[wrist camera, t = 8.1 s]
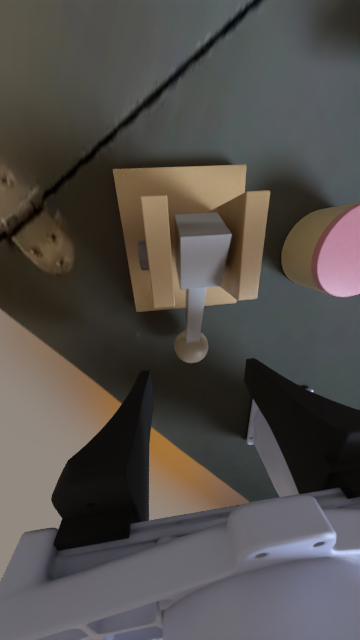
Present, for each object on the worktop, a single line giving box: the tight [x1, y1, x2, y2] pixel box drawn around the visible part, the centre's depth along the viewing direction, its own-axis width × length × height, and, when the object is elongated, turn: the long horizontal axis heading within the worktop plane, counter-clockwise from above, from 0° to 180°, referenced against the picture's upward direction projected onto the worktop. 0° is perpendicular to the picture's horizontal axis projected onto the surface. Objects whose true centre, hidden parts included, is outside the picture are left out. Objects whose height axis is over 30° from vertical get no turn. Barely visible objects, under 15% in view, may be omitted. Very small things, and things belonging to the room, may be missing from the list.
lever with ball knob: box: [174, 212, 232, 363], centre depth 13 cm, size 12×3×3 cm, turn 3°
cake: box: [281, 202, 360, 297], centre depth 15 cm, size 6×6×4 cm
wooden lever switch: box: [113, 164, 270, 312], centre depth 11 cm, size 10×9×8 cm
